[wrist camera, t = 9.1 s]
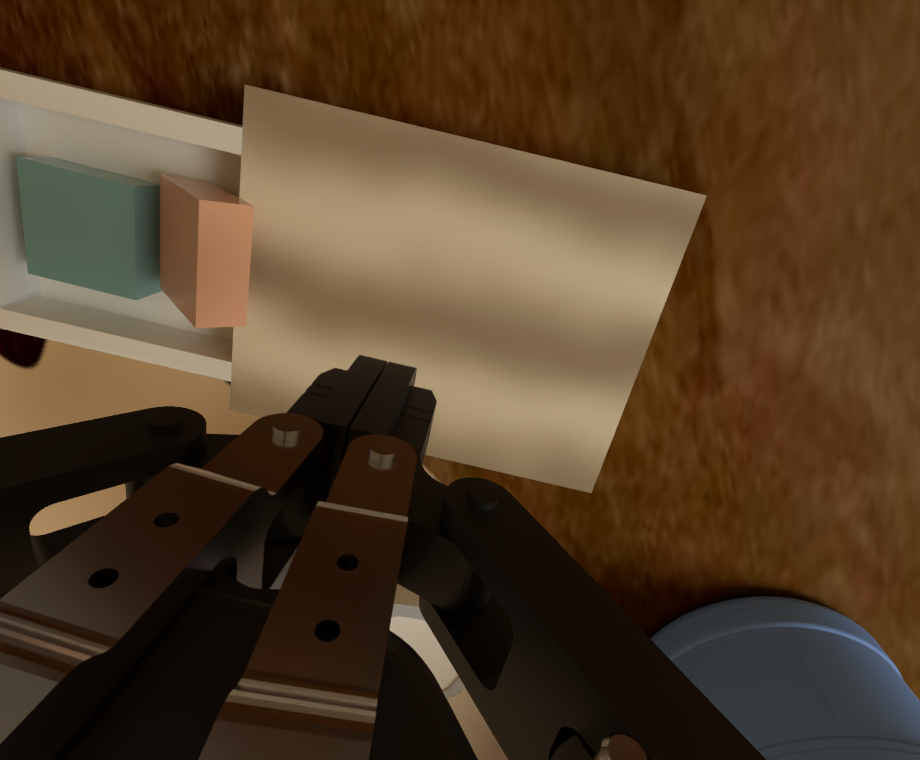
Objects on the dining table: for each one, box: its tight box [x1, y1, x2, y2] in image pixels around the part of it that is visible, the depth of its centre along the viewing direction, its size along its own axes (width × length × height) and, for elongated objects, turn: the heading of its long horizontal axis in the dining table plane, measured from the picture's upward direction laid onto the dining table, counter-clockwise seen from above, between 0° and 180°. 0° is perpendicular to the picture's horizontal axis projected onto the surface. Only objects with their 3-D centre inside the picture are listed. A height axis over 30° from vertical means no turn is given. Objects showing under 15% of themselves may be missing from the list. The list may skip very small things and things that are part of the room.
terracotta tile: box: [160, 174, 254, 328], centre depth 22 cm, size 5×5×2 cm
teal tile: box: [16, 157, 162, 300], centre depth 23 cm, size 5×5×2 cm
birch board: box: [230, 85, 706, 493], centre depth 23 cm, size 14×18×3 cm
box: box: [0, 68, 243, 382], centre depth 23 cm, size 11×12×3 cm
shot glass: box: [389, 584, 465, 699], centre depth 28 cm, size 7×7×7 cm
